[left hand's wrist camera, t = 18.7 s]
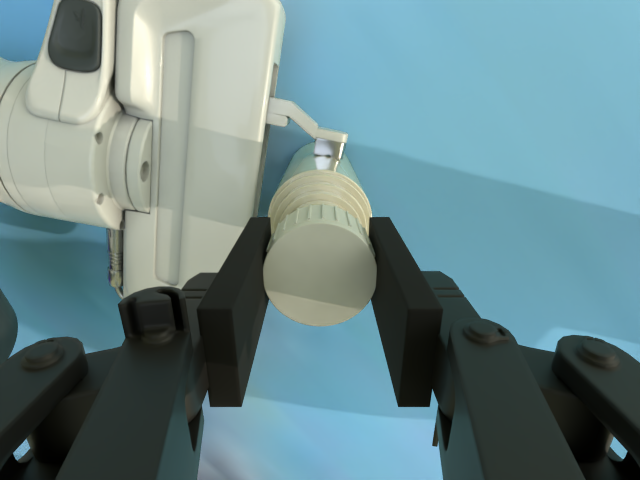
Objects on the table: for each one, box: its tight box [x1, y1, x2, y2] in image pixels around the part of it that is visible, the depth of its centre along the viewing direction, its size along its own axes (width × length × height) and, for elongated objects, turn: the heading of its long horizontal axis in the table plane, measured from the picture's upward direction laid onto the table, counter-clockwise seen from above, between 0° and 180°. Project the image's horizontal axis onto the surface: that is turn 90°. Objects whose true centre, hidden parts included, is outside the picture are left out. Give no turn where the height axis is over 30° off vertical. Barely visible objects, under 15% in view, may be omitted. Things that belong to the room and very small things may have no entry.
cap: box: [263, 204, 377, 326], centre depth 13 cm, size 4×4×2 cm
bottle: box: [268, 142, 372, 235], centre depth 21 cm, size 5×5×18 cm
